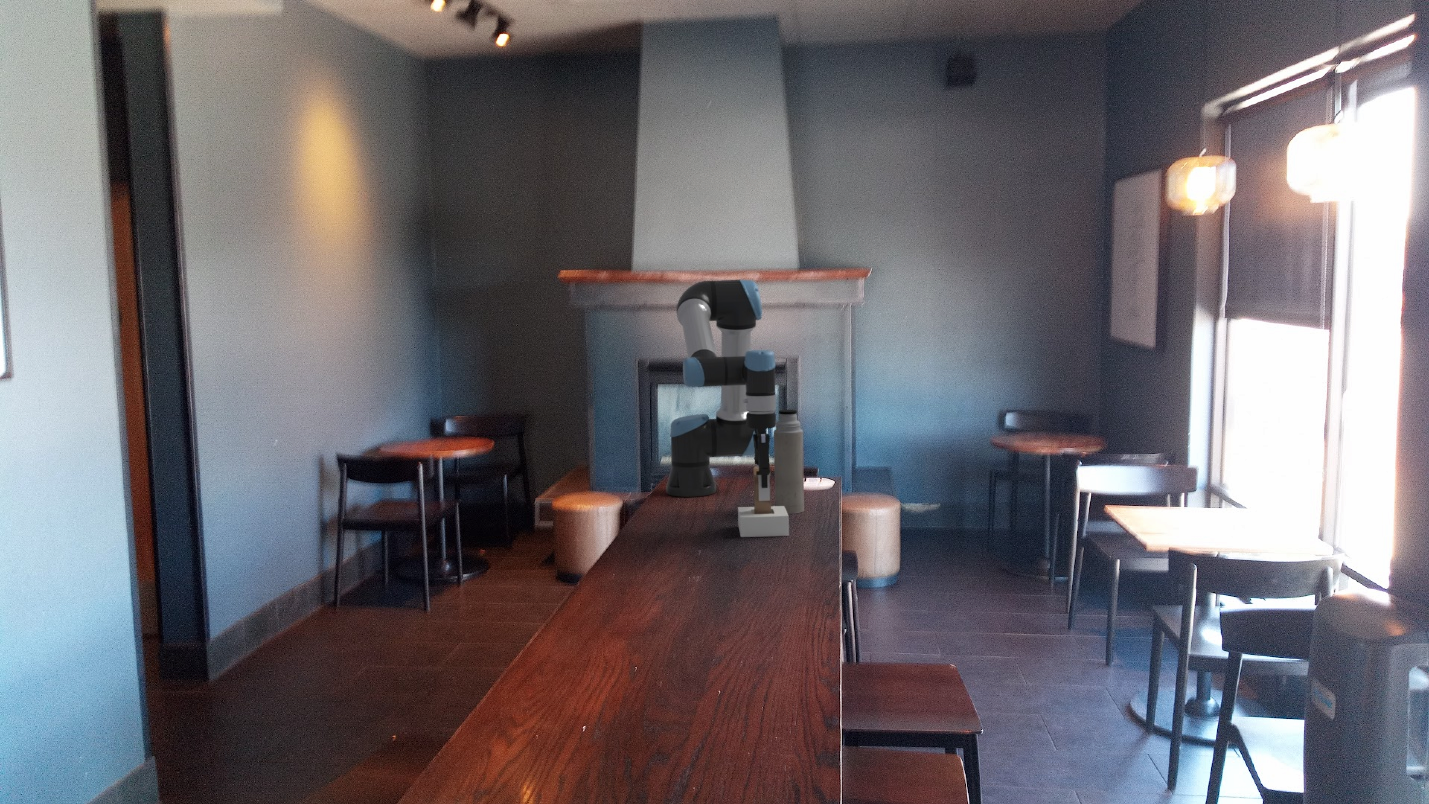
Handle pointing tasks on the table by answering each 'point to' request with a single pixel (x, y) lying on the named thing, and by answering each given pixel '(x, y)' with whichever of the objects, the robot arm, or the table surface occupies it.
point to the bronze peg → (759, 506)
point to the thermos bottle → (789, 462)
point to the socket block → (763, 522)
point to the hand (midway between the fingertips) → (762, 495)
